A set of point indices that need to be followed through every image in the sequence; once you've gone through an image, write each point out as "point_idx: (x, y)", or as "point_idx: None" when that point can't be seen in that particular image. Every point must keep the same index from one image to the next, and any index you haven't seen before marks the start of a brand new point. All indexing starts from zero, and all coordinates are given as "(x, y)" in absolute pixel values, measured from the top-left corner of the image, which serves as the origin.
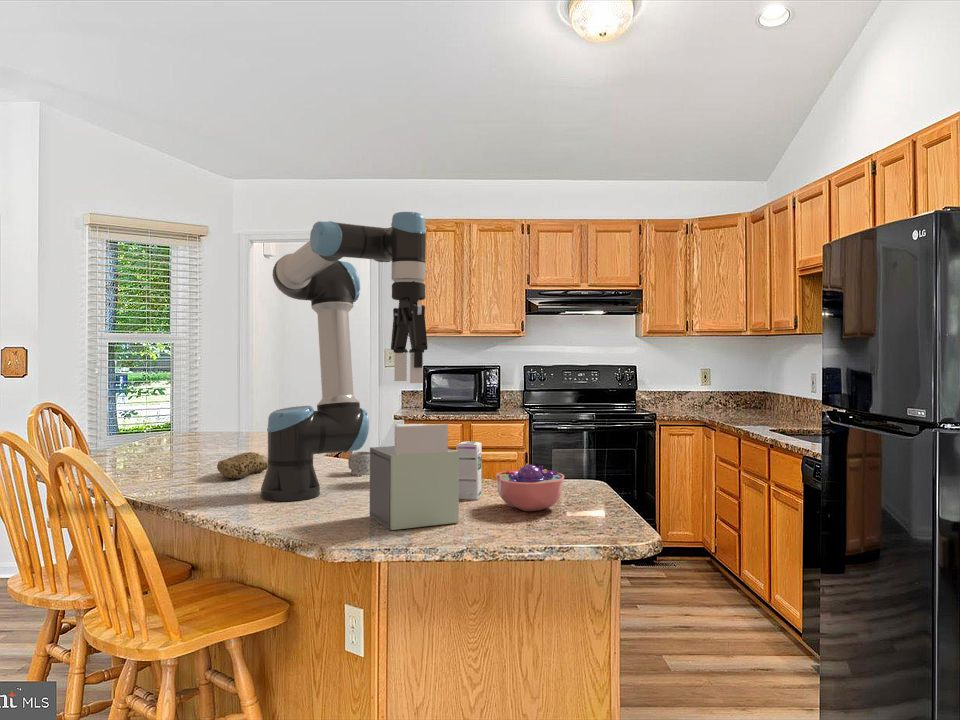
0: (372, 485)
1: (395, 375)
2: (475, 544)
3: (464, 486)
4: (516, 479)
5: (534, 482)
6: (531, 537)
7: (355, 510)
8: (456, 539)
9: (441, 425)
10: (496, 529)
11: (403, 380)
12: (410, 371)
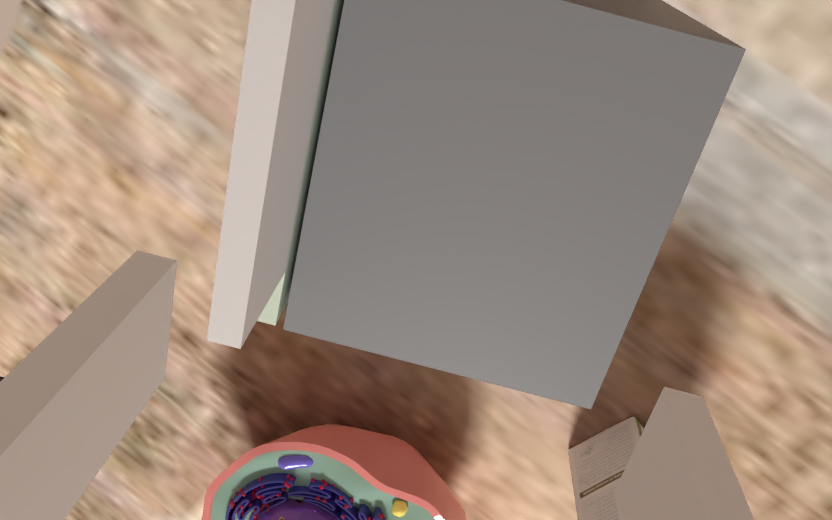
0: (645, 4)
1: (683, 432)
2: (72, 61)
3: (614, 458)
4: (305, 487)
5: (232, 495)
6: (63, 246)
7: (794, 6)
8: (155, 51)
9: (212, 299)
10: (196, 233)
11: (628, 468)
12: (94, 325)
